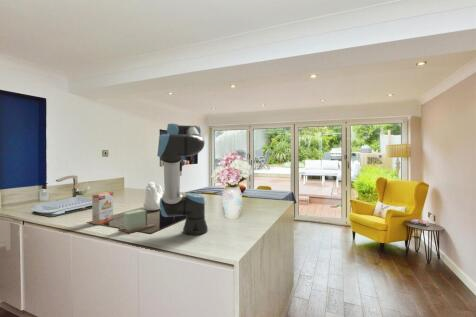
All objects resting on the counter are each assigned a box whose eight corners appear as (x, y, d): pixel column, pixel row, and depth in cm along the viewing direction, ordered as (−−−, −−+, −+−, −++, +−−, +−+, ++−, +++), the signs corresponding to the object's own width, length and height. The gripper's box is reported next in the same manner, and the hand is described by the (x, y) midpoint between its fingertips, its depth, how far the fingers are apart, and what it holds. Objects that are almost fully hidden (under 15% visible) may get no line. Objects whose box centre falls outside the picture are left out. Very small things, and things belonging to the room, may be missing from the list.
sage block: (123, 212, 154) (142, 209, 164) (123, 228, 154) (142, 223, 164) (128, 214, 150) (147, 210, 160) (128, 230, 150) (147, 225, 160)
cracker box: (99, 225, 165) (99, 194, 165) (92, 224, 166) (91, 194, 166) (113, 219, 179) (113, 191, 178) (106, 219, 180) (106, 191, 180)
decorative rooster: (154, 213, 197) (153, 183, 196) (139, 211, 203) (138, 182, 202) (172, 206, 220) (172, 179, 220) (158, 205, 226) (158, 179, 225)
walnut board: (155, 226, 161) (155, 224, 161) (129, 233, 147) (128, 232, 147) (144, 223, 169) (144, 221, 169) (118, 229, 155) (118, 228, 155)
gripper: (157, 145, 177) (157, 174, 177) (181, 145, 162) (181, 176, 163) (166, 146, 183) (166, 174, 183) (189, 145, 168) (189, 175, 169)
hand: (173, 175), depth 173 cm, fingers open, 13 cm apart
